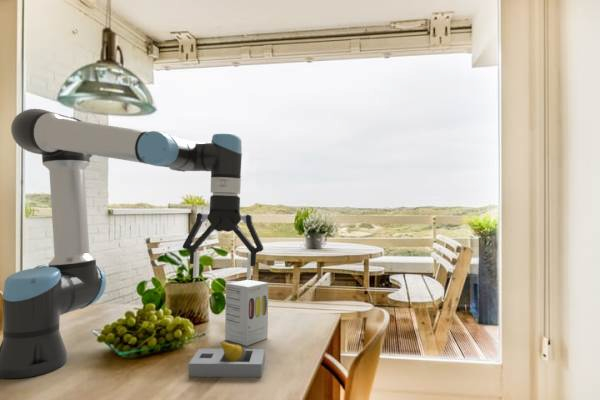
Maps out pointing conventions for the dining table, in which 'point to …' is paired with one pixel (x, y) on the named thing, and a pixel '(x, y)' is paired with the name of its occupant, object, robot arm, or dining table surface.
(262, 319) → the supplement box
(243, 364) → the bit holder block
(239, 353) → the yellow grooved cone
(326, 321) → the dining table surface
